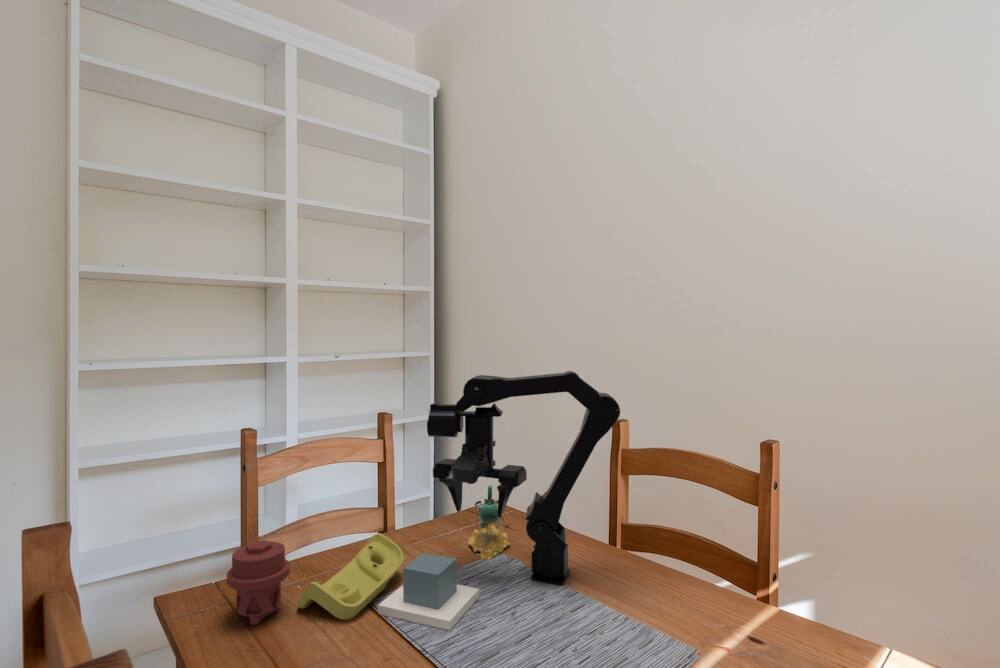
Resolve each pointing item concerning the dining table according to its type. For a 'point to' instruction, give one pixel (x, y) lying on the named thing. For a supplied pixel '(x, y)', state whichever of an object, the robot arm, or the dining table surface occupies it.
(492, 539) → the green and yellow piece
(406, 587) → the slate grey cube
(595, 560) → the dining table surface
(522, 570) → the dining table surface
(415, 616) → the base plate
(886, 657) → the dining table surface
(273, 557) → the mechanical component
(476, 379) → the robot arm
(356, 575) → the plastic component
